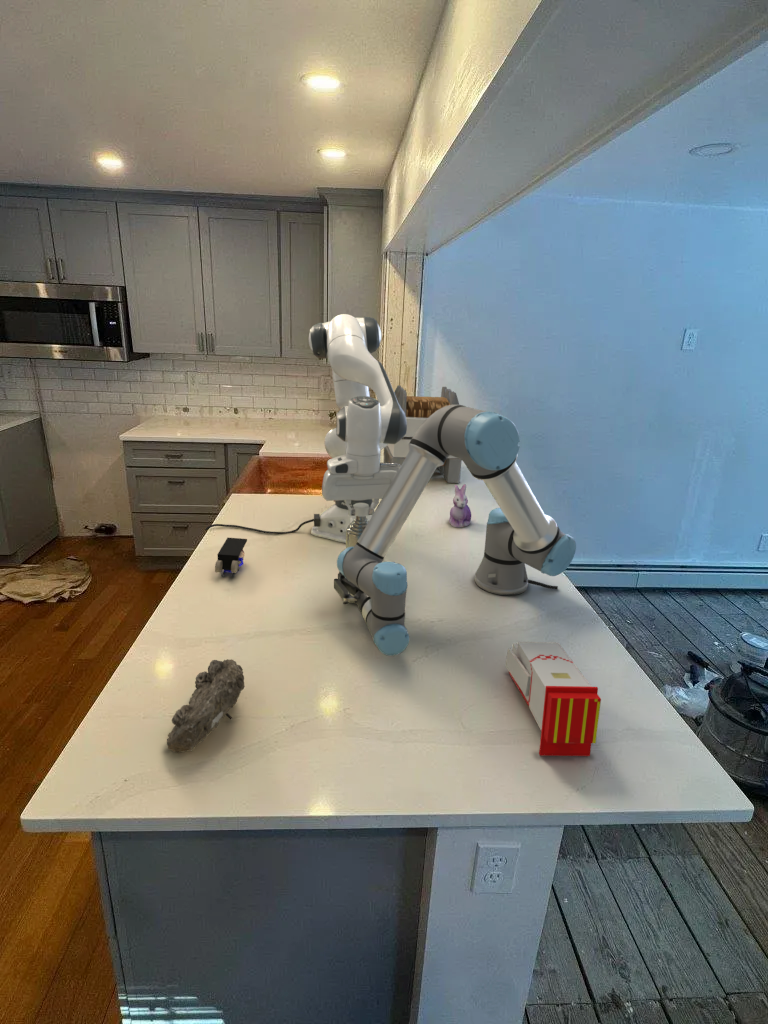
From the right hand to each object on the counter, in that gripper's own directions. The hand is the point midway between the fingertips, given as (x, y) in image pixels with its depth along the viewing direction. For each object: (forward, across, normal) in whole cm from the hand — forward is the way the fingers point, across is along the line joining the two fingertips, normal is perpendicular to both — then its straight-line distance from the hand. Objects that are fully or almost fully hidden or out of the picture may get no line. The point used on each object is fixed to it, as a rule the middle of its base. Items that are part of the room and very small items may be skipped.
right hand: (355, 568), depth 157 cm
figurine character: (+19, -33, -6) cm, 38 cm away
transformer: (+111, +58, -6) cm, 125 cm away
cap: (-5, 0, +20) cm, 21 cm away
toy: (-57, +26, -6) cm, 63 cm away
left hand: (-5, 0, +18) cm, 18 cm away
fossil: (-46, -38, -6) cm, 60 cm away
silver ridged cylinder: (-5, 0, -6) cm, 8 cm away
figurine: (+43, +50, -6) cm, 67 cm away
